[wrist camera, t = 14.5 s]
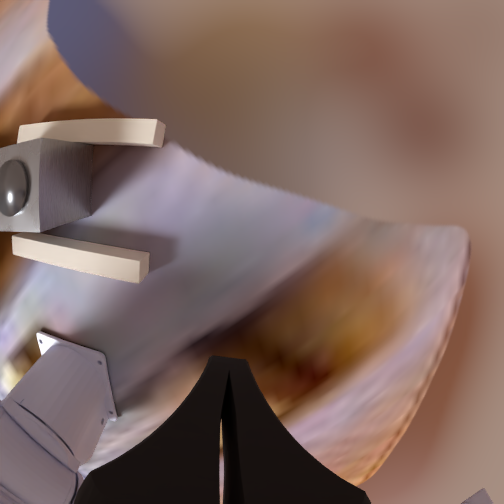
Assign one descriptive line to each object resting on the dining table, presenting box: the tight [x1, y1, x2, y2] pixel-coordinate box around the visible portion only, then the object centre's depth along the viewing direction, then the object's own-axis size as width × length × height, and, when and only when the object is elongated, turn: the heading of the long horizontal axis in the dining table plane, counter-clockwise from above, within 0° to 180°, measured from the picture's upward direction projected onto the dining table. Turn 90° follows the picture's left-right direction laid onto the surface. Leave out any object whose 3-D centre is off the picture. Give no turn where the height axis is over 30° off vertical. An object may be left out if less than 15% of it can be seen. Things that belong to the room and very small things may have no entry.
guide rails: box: [12, 118, 166, 284], centre depth 15 cm, size 10×12×2 cm
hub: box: [0, 138, 94, 232], centre depth 13 cm, size 5×5×6 cm
